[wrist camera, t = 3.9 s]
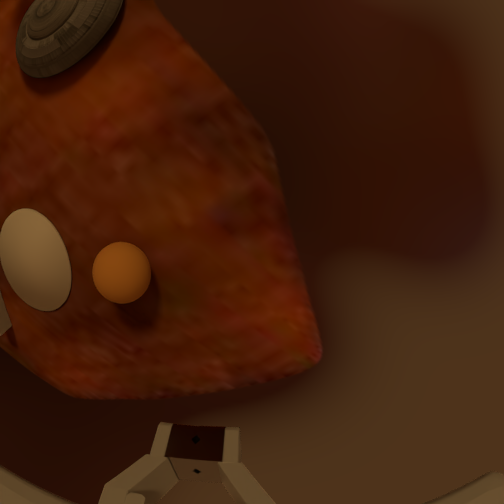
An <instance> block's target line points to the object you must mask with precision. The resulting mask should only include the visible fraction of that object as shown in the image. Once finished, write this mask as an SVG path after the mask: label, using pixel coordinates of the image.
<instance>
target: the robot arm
mask: <svg viewBox="0 0 504 504" xmlns="http://www.w3.org/2000/svg"><path fill="white" fill-rule="evenodd" d="M179 480H189V481H202V482H214V483H223V485H224V487H225V488H226V490H227V491H228V493H229V494H230V496H231V497H232V499H233V500H234V502H235V503H236V504H276V503H275V502H274V501H273V500H272V499H271V498H270V496H269V495H268V494H267V493H266V492H265V490H264V489H263V488H262V487H261V486H260V484H259V483H258V482H257V481H256V479H255V478H254V477H253V476H252V474H251V473H250V472H249V471H248V469H247V468H246V467H245V465H244V464H243V463H241V436H240V427H213V426H190V425H181V424H172V423H163V422H161V423H160V424H159V425H158V428H157V432H156V435H155V439H154V442H153V446H152V449H151V452H150V455H148V454H146V455H144V456H143V457H142V458H141V459H139V460H138V461H137V462H135V463H134V464H133V465H131V466H130V467H129V468H127V469H126V470H125V471H123V472H122V473H121V474H119V475H118V476H116V477H115V478H113V479H112V480H111V481H109V482H108V483H106V484H105V486H104V489H103V492H102V495H101V497H100V500H99V503H98V504H156V503H157V502H158V501H159V500H160V499H161V498H162V497H163V496H164V495H165V494H166V493H167V492H168V491H169V490H170V489H171V488H172V487H173V486H174V485H175V484H176V483H177V482H178V481H179ZM0 504H76V503H73V502H71V501H69V500H66V499H64V498H62V497H60V496H57V495H55V494H53V493H51V492H49V491H46V490H44V489H42V488H40V487H38V486H36V485H34V484H32V483H31V482H29V481H27V480H25V479H23V478H21V477H19V476H18V475H16V474H14V473H13V472H11V471H9V470H8V469H6V468H4V467H3V466H1V465H0ZM423 504H504V474H501V473H499V472H495V471H491V472H488V473H485V474H484V475H482V476H480V477H478V478H476V479H475V480H473V481H471V482H469V483H467V484H465V485H463V486H461V487H459V488H457V489H455V490H453V491H451V492H449V493H447V494H445V495H442V496H440V497H438V498H435V499H433V500H431V501H428V502H425V503H423Z"/></svg>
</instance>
